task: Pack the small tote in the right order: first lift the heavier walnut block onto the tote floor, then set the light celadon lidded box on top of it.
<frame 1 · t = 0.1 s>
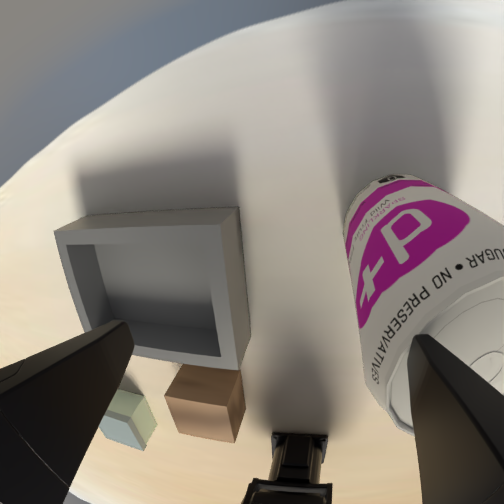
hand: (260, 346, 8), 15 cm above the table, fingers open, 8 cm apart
tote: (162, 275, 26), on the table
supplement can: (396, 228, 21), on the table, touching gripper
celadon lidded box: (132, 405, 36), on the table
walnut block: (215, 386, 30), on the table
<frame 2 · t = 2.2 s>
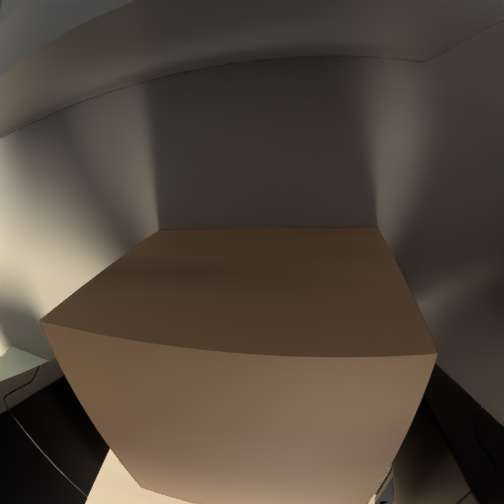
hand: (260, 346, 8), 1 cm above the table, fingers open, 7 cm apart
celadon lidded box: (60, 393, 15), on the table
walnut block: (268, 322, 9), on the table
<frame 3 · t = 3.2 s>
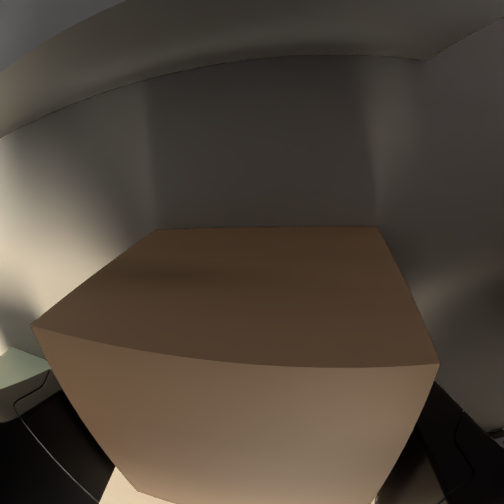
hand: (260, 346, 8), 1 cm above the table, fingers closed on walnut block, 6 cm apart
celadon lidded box: (59, 393, 15), on the table
walnut block: (266, 324, 9), on the table, touching gripper
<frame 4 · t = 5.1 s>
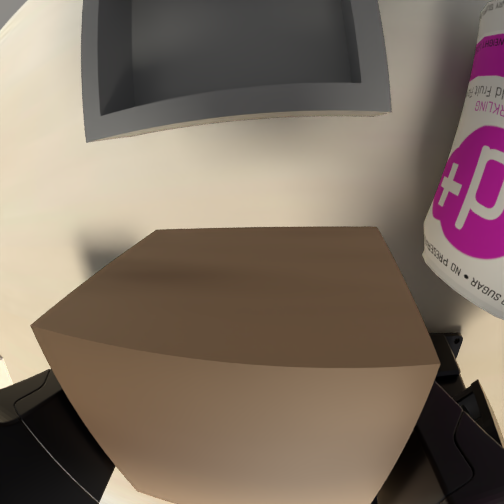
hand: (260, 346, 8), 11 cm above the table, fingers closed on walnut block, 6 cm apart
triangle block: (10, 397, 45), on the table
tote: (233, 30, 14), on the table
walnut block: (266, 324, 9), point 10 cm above the table, touching gripper
when the fingers open (4 cm above the table, at t = 8.0 s): walnut block drops 2 cm, resting on tote.
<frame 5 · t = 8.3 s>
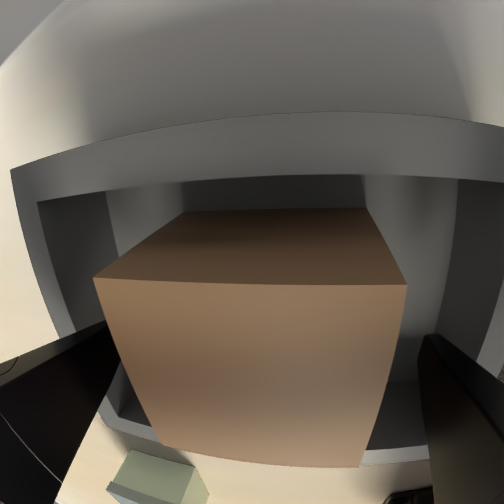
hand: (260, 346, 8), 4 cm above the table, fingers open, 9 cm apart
tote: (279, 278, 12), on the table
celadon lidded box: (171, 473, 21), on the table
walnut block: (276, 292, 11), point 1 cm above the table, touching tote
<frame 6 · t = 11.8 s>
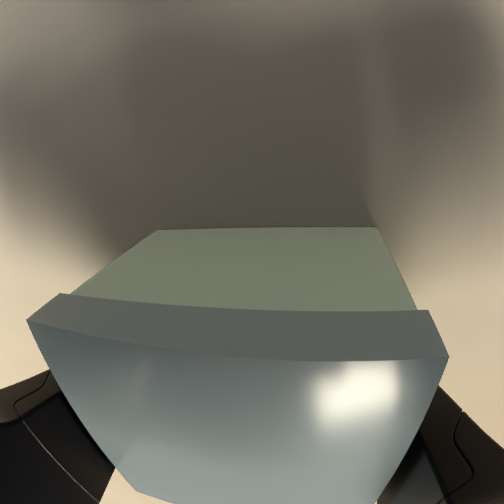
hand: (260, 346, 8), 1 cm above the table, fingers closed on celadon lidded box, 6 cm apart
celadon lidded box: (266, 324, 9), on the table, touching gripper
when the fingers open (9 cm above the table, at t = 16.5 s): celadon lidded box drops 1 cm, resting on walnut block.
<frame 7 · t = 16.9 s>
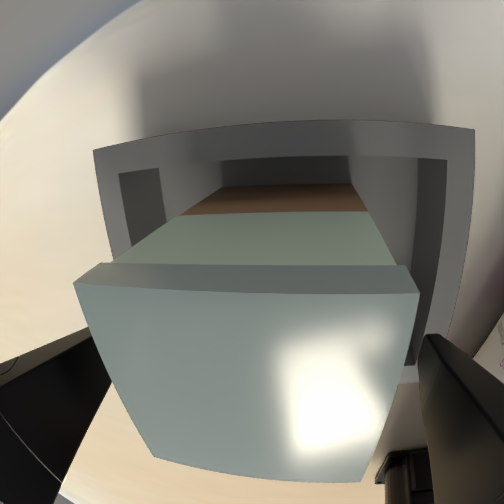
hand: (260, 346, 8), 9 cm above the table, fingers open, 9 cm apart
tote: (290, 238, 16), on the table
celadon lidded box: (273, 299, 10), point 6 cm above the table, touching walnut block
walnut block: (288, 246, 15), point 1 cm above the table, touching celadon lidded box, tote
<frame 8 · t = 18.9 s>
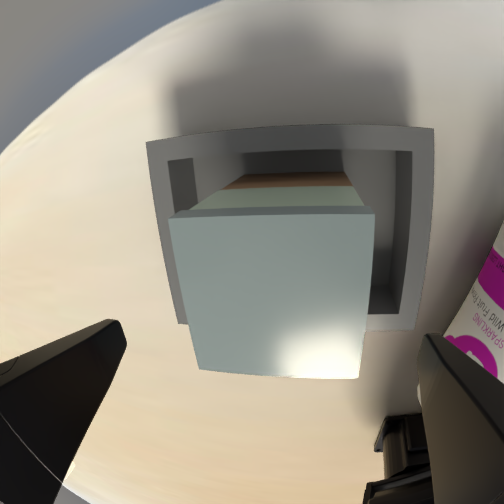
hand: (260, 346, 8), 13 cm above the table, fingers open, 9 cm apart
tote: (296, 215, 20), on the table
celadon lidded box: (287, 250, 15), point 6 cm above the table, touching walnut block
walnut block: (296, 220, 19), point 1 cm above the table, touching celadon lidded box, tote
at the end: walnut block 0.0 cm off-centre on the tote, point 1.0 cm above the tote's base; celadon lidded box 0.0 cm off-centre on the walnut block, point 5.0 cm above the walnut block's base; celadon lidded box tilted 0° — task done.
